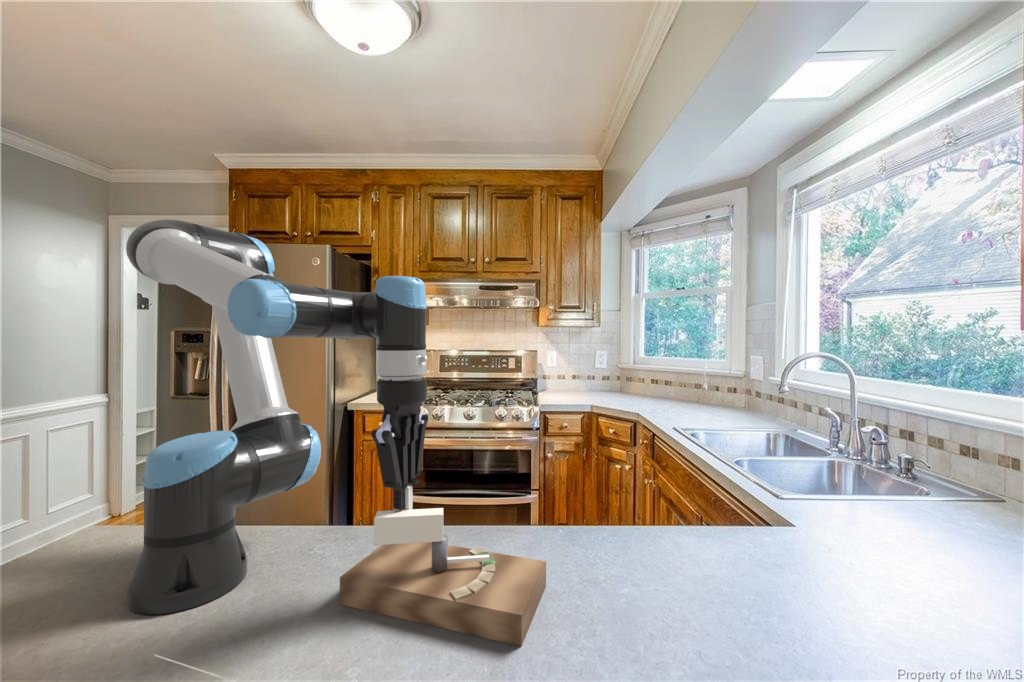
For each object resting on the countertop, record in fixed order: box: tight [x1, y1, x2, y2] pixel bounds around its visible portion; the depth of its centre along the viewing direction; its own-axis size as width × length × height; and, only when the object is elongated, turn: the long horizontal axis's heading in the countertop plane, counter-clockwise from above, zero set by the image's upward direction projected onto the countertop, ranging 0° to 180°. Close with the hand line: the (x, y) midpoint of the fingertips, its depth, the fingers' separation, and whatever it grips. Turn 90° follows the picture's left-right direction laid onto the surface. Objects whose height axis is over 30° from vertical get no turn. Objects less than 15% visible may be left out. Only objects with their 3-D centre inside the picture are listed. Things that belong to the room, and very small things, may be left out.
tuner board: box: [339, 542, 547, 647], centre depth 65 cm, size 28×14×4 cm, turn 72°
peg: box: [373, 507, 489, 572], centre depth 64 cm, size 17×3×9 cm, turn 98°
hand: (403, 526), depth 66 cm, fingers closed
